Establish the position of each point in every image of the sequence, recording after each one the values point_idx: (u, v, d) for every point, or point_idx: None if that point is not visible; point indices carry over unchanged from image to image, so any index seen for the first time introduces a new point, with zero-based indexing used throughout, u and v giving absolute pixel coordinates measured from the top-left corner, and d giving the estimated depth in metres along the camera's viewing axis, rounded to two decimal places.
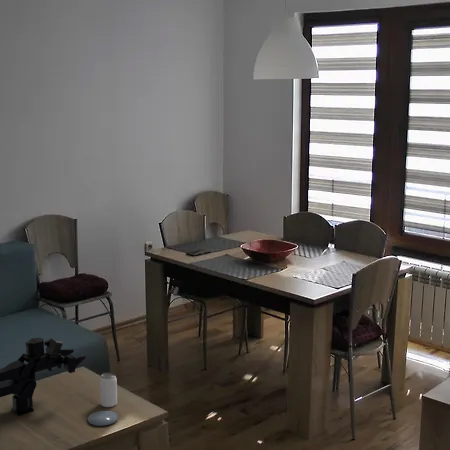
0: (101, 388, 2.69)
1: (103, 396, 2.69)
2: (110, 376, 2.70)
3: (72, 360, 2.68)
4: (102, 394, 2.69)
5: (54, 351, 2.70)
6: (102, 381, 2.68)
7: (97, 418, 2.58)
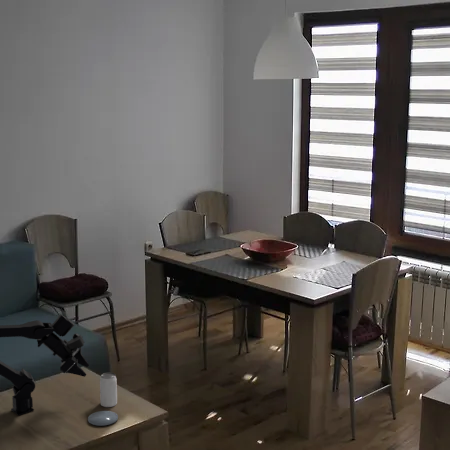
0: (101, 388, 2.69)
1: (103, 396, 2.69)
2: (110, 376, 2.70)
3: (71, 362, 2.59)
4: (102, 394, 2.69)
5: (70, 344, 2.65)
6: (102, 381, 2.68)
7: (97, 418, 2.58)
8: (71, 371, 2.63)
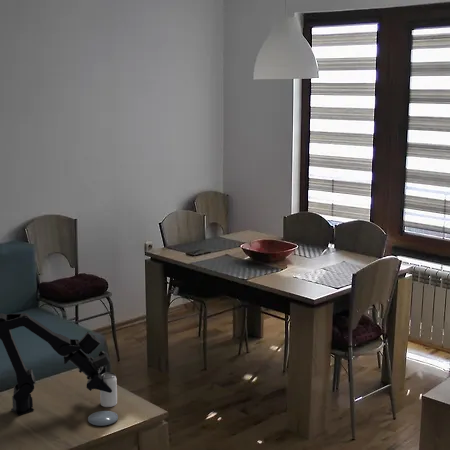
0: None
1: (103, 396, 2.69)
2: (110, 376, 2.70)
3: (97, 380, 2.61)
4: (102, 394, 2.69)
5: (97, 362, 2.67)
6: None
7: (97, 418, 2.58)
8: (97, 387, 2.66)
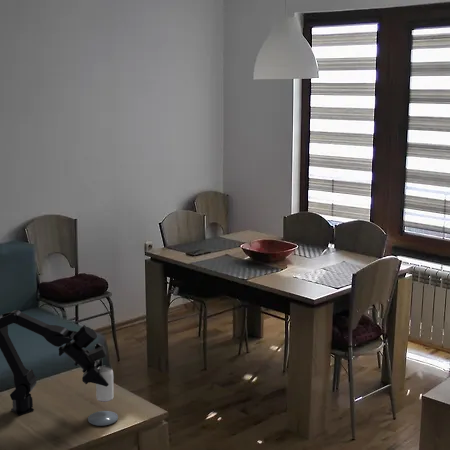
0: None
1: (99, 389, 2.61)
2: (106, 369, 2.62)
3: (93, 373, 2.53)
4: (98, 388, 2.61)
5: (93, 354, 2.59)
6: None
7: (97, 418, 2.58)
8: (93, 380, 2.58)
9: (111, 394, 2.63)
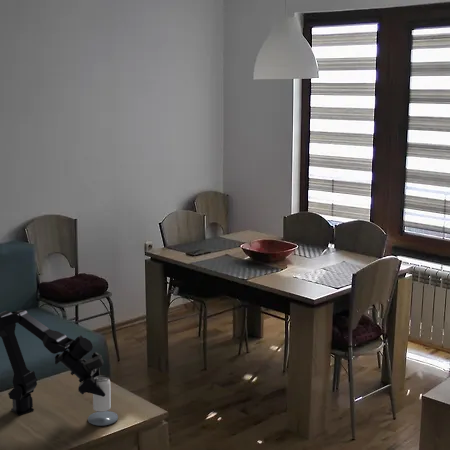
0: None
1: (96, 400, 2.55)
2: (103, 379, 2.56)
3: (90, 383, 2.47)
4: (95, 398, 2.55)
5: (89, 364, 2.53)
6: None
7: (97, 418, 2.58)
8: (90, 390, 2.52)
9: (108, 404, 2.56)
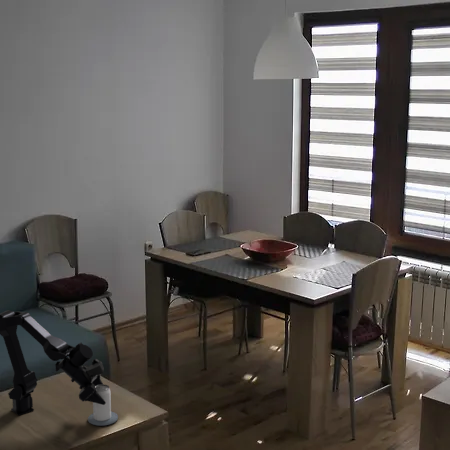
0: None
1: (97, 409, 2.55)
2: (104, 388, 2.56)
3: (90, 390, 2.47)
4: (95, 407, 2.56)
5: (90, 371, 2.53)
6: None
7: None
8: (90, 399, 2.51)
9: (108, 413, 2.57)
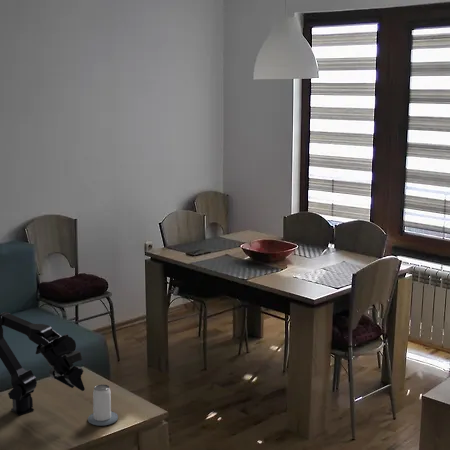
0: (94, 401, 2.55)
1: (97, 409, 2.55)
2: (104, 388, 2.57)
3: (80, 370, 2.53)
4: (95, 407, 2.56)
5: (72, 356, 2.59)
6: (95, 394, 2.55)
7: None
8: (74, 383, 2.54)
9: (108, 413, 2.57)
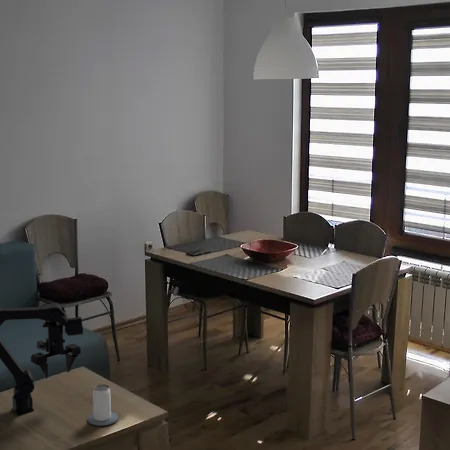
0: (94, 401, 2.56)
1: (96, 409, 2.55)
2: (103, 388, 2.57)
3: None
4: (95, 407, 2.56)
5: None
6: (95, 394, 2.55)
7: None
8: None
9: (108, 413, 2.57)
